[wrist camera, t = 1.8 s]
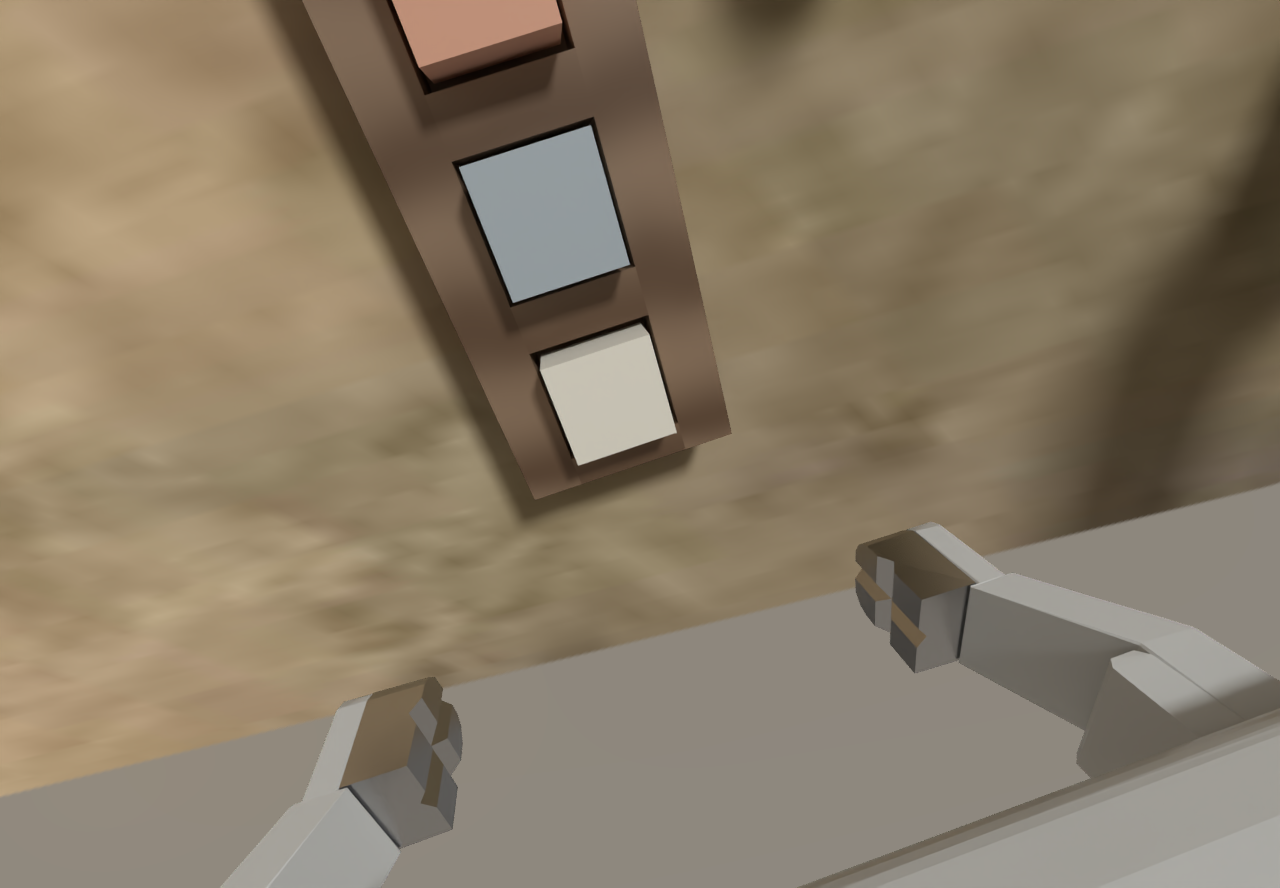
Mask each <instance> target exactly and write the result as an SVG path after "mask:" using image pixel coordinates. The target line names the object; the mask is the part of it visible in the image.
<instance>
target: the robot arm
mask: <svg viewBox="0 0 1280 888" xmlns="http://www.w3.org/2000/svg"><path fill="white" fill-rule="evenodd" d="M855 561H856V562H857V563H858V564H859V565H860V566H861V568H862V569H861V571H860V572H859V574H858V575H857V577H856V578H855V582H856V593H857V596H858V599H859V602H860V605H861V607H862V608H863V610H864V612H865V613H866V615H867V616H868V618H869V619H870V620H871V622H872V623H873V624H874V625H875V626H877V627H879V628H881V629H883V630H886V631H888V632H890V644H891V646H892V647H893V648H894V649H895V651H896V652H897V653H898V654H899V655H900V657H901V658H902V659H903V660H904V661H905V662H906V664H907V665H908V666H909V667H910V668H911V669H912V671H913V672H914V673H918V672H921V671H925V670H928V669H931V668H934V667H938V666H941V665H944V664H948V663H951V662H954V661H957V660H959V663H960V664H962V665H964V666H966V667H968V668H970V669H972V670H973V671H975V672H977V673H979V674H981V675H983V676H984V677H986V678H988V679H990V680H992V681H994V682H995V683H998V684H999V685H1001V686H1003V687H1005V688H1007V689H1008V690H1010V691H1012V692H1014V693H1016V694H1018V695H1020V696H1021V697H1023V698H1025V699H1027V700H1029V701H1031V702H1033V703H1034V704H1036V705H1038V706H1040V707H1042V708H1044V709H1045V710H1047V711H1049V712H1051V713H1053V714H1055V715H1057V716H1058V717H1060V718H1062V719H1064V720H1066V721H1068V722H1070V723H1071V724H1074V725H1075V726H1077V727H1079V728H1081V729H1083V730H1084V731H1085V732H1084V735H1083V737H1082V740H1081V743H1080V746H1079V748H1078V751H1077V764H1078V765H1079V766H1080V767H1081V769H1082V770H1083V771H1084V772H1085V773H1086V774H1087V775H1088V776H1089V777H1090V779H1088V780H1085V781H1082V782H1080V783H1077V784H1074V785H1072V786H1069V787H1067V788H1064V789H1061V790H1058V791H1056V792H1053V793H1050V794H1048V795H1045V796H1042V797H1039V798H1037V799H1034V800H1031V801H1029V802H1026V803H1023V804H1021V805H1018V806H1015V807H1012V808H1010V809H1007V810H1005V811H1002V812H999V813H996V814H994V815H991V816H988V817H986V818H983V819H980V820H978V821H975V822H972V823H970V824H967V825H965V826H961V827H959V828H956V829H953V830H951V831H948V832H945V833H943V834H940V835H937V836H935V837H932V838H929V839H926V840H924V841H921V842H918V843H916V844H913V845H910V846H908V847H905V848H902V849H900V850H897V851H894V852H892V853H889V854H886V855H883V856H881V857H878V858H875V859H873V860H870V861H867V862H865V863H862V864H859V865H857V866H854V867H851V868H848V869H846V870H843V871H840V872H838V873H835V874H832V875H830V876H827V877H824V878H822V879H819V880H816V881H814V882H811V883H808V884H806V885H803V886H800V887H797V888H1280V681H1279V680H1277V679H1275V678H1274V677H1272V676H1271V675H1269V674H1268V673H1266V672H1264V671H1263V670H1261V669H1260V668H1258V667H1257V666H1255V665H1253V664H1252V663H1250V662H1248V661H1247V660H1246V659H1244V658H1242V657H1241V656H1239V655H1238V654H1236V653H1234V652H1233V651H1231V650H1230V649H1228V648H1227V647H1225V646H1223V645H1222V644H1220V643H1218V642H1217V641H1215V640H1214V639H1212V638H1211V637H1209V636H1207V635H1206V634H1204V633H1203V632H1201V631H1200V630H1198V629H1196V628H1195V627H1192V626H1189V625H1185V624H1182V623H1179V622H1175V621H1172V620H1168V619H1165V618H1162V617H1159V616H1156V615H1152V614H1149V613H1145V612H1142V611H1139V610H1135V609H1132V608H1129V607H1126V606H1123V605H1119V604H1116V603H1112V602H1109V601H1105V600H1103V599H1099V598H1096V597H1093V596H1089V595H1086V594H1083V593H1079V592H1076V591H1072V590H1070V589H1066V588H1063V587H1060V586H1056V585H1053V584H1050V583H1046V582H1043V581H1040V580H1036V579H1033V578H1030V577H1026V576H1023V575H1020V574H1017V573H1009V574H1006V575H1005V574H1004V573H1002V572H1001V571H1000V570H999V569H997V568H996V567H995V566H993V565H992V564H990V563H989V562H988V561H987V560H985V559H984V558H983V557H981V556H980V555H979V554H978V553H976V552H975V551H974V550H972V549H971V548H970V547H968V546H967V545H966V544H964V543H963V542H962V541H960V540H959V539H958V538H957V537H955V536H954V535H953V534H951V533H950V532H949V531H947V530H946V529H945V528H943V527H942V526H941V525H939V524H937V523H934V522H929V523H925V524H922V525H919V526H916V527H913V528H910V529H907V530H904V531H900V532H897V533H894V534H891V535H888V536H884V537H881V538H878V539H875V540H872V541H869V542H866V543H863V544H859V545H858V547H857V549H856V560H855ZM442 691H443V688H442V687H441V685H440V684H439V682H438V681H437V679H436V678H435V677H428V678H425V679H421V680H417V681H414V682H410V683H407V684H403V685H400V686H396V687H393V688H389V689H385V690H382V691H378V692H375V693H373V694H370V695H366V696H362V697H359V698H355V699H352V700H348V701H345V702H344V703H343V704H342V705H341V706H340V707H339V708H338V709H337V711H336V713H335V716H334V718H333V721H332V724H331V726H330V729H329V731H328V734H327V737H326V739H325V742H324V745H323V747H322V750H321V752H320V755H319V758H318V761H317V763H316V766H315V768H314V771H313V773H312V776H311V779H310V781H309V784H308V786H307V789H306V792H305V794H304V797H303V800H302V802H300V803H297V804H294V805H292V806H291V807H290V808H289V809H288V810H287V811H286V813H285V814H284V815H283V816H282V817H281V818H280V819H279V821H278V822H277V823H276V824H275V825H274V826H273V827H272V829H271V830H270V831H269V832H268V833H267V834H266V835H265V837H264V838H263V839H262V840H261V841H260V842H259V844H258V845H257V846H256V847H255V848H254V849H253V850H252V852H251V853H250V854H249V855H248V856H247V857H246V858H245V860H244V861H243V862H242V863H241V864H240V865H239V866H238V868H237V869H236V870H235V871H234V872H233V873H232V874H231V876H230V877H229V878H228V879H227V880H226V881H225V882H224V884H223V885H222V886H221V887H220V888H381V887H382V885H383V883H384V882H385V879H386V878H387V876H388V874H389V873H390V871H391V869H392V867H393V865H394V864H395V862H396V860H397V858H398V856H399V855H400V853H401V851H400V849H401V848H403V847H406V846H409V845H411V844H414V843H417V842H419V841H422V840H425V839H428V838H430V837H433V836H436V835H438V834H441V833H444V832H447V831H449V830H452V829H453V821H454V812H455V804H456V796H457V788H458V787H457V785H456V783H455V782H454V780H453V779H452V777H451V774H452V773H453V771H454V770H455V768H456V767H457V765H458V764H459V762H460V761H461V754H462V732H461V724H460V721H459V718H458V715H457V713H456V711H455V709H454V707H453V705H451V704H449V703H446V702H444V701H441V697H442Z"/></svg>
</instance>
